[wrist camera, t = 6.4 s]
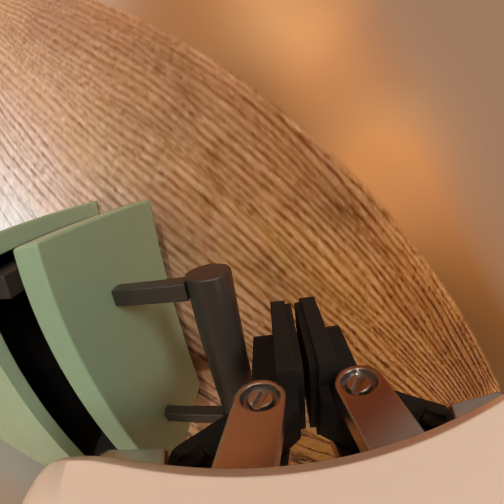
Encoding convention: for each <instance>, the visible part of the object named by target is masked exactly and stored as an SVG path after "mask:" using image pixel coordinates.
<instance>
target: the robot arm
mask: <svg viewBox="0 0 504 504" xmlns="http://www.w3.org/2000/svg"><path fill="white" fill-rule="evenodd" d="M294 304H295V317H296V328H295V324H294V319H293V314H292V309H291V305H290V303H289V304H285V302H284V301H276V302H270V305H271V318H272V333H273V335H267V336H258V337H254V338H253V361H252V382H249V383H247V384H245V385H244V386H242V387H241V388H240V389H239V390H238V391H237V393H236V395H235V397H234V400H233V403H232V406H231V409H230V412H229V413H227V414H226V415H224V416H223V417H222V418H220V419H219V420H217V421H216V422H214V423H213V424H211V425H210V426H208V427H206V428H205V429H203V430H202V431H200V432H199V433H197V434H195V435H194V436H192V437H191V438H189V439H187V440H186V441H184V442H182V443H181V444H179V445H178V446H177V447H175V448H174V449H173V450H168V451H167V450H166V449H165V448H156V449H134V450H107V451H105V452H103V453H101V454H100V455H99V456H73V457H66V458H61V459H57V460H55V461H53V462H51V463H50V464H48V465H47V466H46V467H45V468H44V469H43V470H42V472H41V473H40V474H39V475H38V477H37V478H36V480H35V481H34V483H33V484H32V486H31V488H30V489H29V491H28V493H27V495H26V497H25V499H24V501H23V503H22V504H504V393H501V392H494V393H490V394H487V395H484V396H480V397H476V398H473V399H469V400H465V401H461V402H456V403H452V404H451V405H450V407H448V408H447V407H446V406H444V405H441V404H438V403H435V402H431V401H428V400H424V399H421V398H417V397H414V396H411V395H407V394H404V393H401V392H398V391H395V390H393V389H392V387H391V386H390V385H389V383H388V382H387V381H386V379H385V378H384V377H383V375H382V374H381V373H380V372H379V371H378V370H376V369H374V368H372V367H369V366H364V365H356V363H355V361H354V358H353V356H352V354H351V351H350V349H349V347H348V345H347V342H346V340H345V338H344V336H343V334H342V331H341V329H340V327H339V326H338V325H337V326H331V327H325V324H324V322H323V319H322V317H321V314H320V311H319V309H318V306H317V304H316V301H315V299H314V297H306V298H299V302H297V303H294ZM296 329H297V333H296ZM305 399H306V405H307V411H308V417H309V423H310V427H316V429H317V435H319V434H320V435H322V436H324V437H326V438H328V439H330V444H331V447H332V450H333V452H334V455H335V457H336V458H335V459H330V460H324V461H318V462H312V463H305V464H298V465H290V459H291V447H292V446H293V445H294V444H295V443H296V442H297V441H298V440H299V439H300V438H301V429H304V428H306V422H305Z"/></svg>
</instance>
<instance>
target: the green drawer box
mask: <svg viewBox="0 0 504 504" xmlns="http://www.w3.org/2000/svg"><path fill="white" fill-rule="evenodd" d="M96 215H99V212H98V207H97V202H96V201H93V202H89V203H86V204H82V205H78V206H75V207H71V208H68V209H65V210H61V211H58V212H55V213H51V214H48V215H45V216H42V217H39V218H36V219H33V220H30V221H27V222H24V223H21V224H18V225H16V226H13V227H10V228H7V229H5V230H2V231H0V255H1V254H3V253H6V252H8V251H10V250H12V249H14V248H16V247H18V246H21V245H23V244H25V243H27V242H30V241H32V240H34V239H37V238H39V237H41V236H44V235H46V234H49V233H51V232H54V231H56V230H59V229H61V228H64V227H66V226H69V225H71V224H74V223H77V222H79V221H82V220H85V219H87V218H90V217H93V216H96ZM0 439H2V440H3V441H5V442H6V443H8V444H9V445H11V446H12V447H14V448H15V449H17V450H19V451H20V452H22V453H24V454H26V455H27V456H29V457H31V458H32V459H34V460H36V461H38V462H40V463H42V464H44V465H45V466H47V465H48V464H50V463H51V462H53V461H55V460H57V459H61V458H66V457H73V456H85V455H84V454H83V453H82V452H81V451H80V450H79V449H78V448H77V447H76V445H75V444H74V443H73V442H72V441H71V440H70V439H69V437H68V436H67V435H66V434H65V433H64V432H63V430H62V429H61V428H60V427H59V425H58V424H57V423H56V422H55V420H54V419H53V418H52V417H51V415H50V414H49V413H48V411H47V410H46V409H45V407H44V406H43V404H42V403H41V402H40V400H39V399H38V397H37V396H36V394H35V393H34V391H33V390H32V388H31V387H30V385H29V384H28V382H27V380H26V379H25V377H24V376H23V374H22V372H21V371H20V369H19V367H18V365H17V364H16V362H15V360H14V358H13V356H12V355H11V353H10V351H9V349H8V347H7V345H6V343H5V341H4V339H3V337H2V335H1V333H0Z"/></svg>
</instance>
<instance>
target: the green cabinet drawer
mask: <svg viewBox="0 0 504 504" xmlns="http://www.w3.org/2000/svg"><path fill="white" fill-rule="evenodd" d="M189 299H190V300H191V304H192V308H193V312H194V315H195V319H196V323H197V326H198V330H199V333H200V337H201V340H202V344H203V347H204V351H205V354H206V357H207V361H208V364H209V367H210V370H211V373H212V377H213V380H214V383H215V386H216V389H217V392H218V395H219V398H220V401H221V404H222V406H194V405H195V401H196V398H197V394H198V390H199V386H200V382H199V379H198V377H197V374H196V371H195V368H194V365H193V362H192V359H191V356H190V354H189V350H188V347H187V344H186V341H185V338H184V335H183V332H182V329H181V325H180V322H179V319H178V315H177V312H176V308H175V305H174V302H181V301H188V300H189ZM0 333H1V335H2V337H3V339H4V341H5V343H6V345H7V347H8V349H9V351H10V353H11V355H12V356H13V358H14V360H15V362H16V364H17V365H18V367H19V369H20V371H21V372H22V374H23V376H24V377H25V379H26V380H27V382H28V384H29V385H30V387H31V388H32V390H33V391H34V393H35V394H36V396H37V397H38V399H39V400H40V402H41V403H42V404H43V406H44V407H45V409H46V410H47V411H48V413H49V414H50V415H51V417H52V418H53V419H54V420H55V422H56V423H57V424H58V425H59V427H60V428H61V429H62V430H63V432H64V433H65V434H66V435H67V436H68V437H69V439H70V440H71V441H72V442H73V443H74V444H75V445H76V447H77V448H78V449H79V450H80V451H81V452H82V453H83V454H84V455H85V456H99V455H100V454H101V453H103V452H105V451H107V450H134V449H156V448H165V449H166V450H167V451H168V450H173V449H174V448H175V447H177V446H178V445H179V444H181V443H182V442H184V441H186V437H187V433H188V429H189V425H190V422H196V423H214V422H216V421H217V420H219V419H220V418H222V417H223V416H224V415H226V414H227V413H229V412H230V409H231V406H232V403H233V400H234V397H235V395H236V393H237V391H238V390H239V389H240V388H241V387H242V386H244V385H245V384H247V383H249V382H252V375H251V370H250V365H249V360H248V356H247V351H246V346H245V341H244V335H243V330H242V325H241V320H240V315H239V310H238V304H237V299H236V294H235V288H234V283H233V278H232V272H231V268H230V267H229V266H228V265H225V264H208V265H203V266H200V267H197V268H195V269H193V270H191V271H189V272H188V273H187V274H186V276H185V277H183V278H174V279H167V275H166V272H165V268H164V263H163V259H162V255H161V251H160V247H159V242H158V238H157V233H156V229H155V224H154V219H153V214H152V209H151V204H150V200H145V201H141V202H136V203H132V204H128V205H125V206H122V207H119V208H116V209H113V210H110V211H107V212H104V213H101V214H99V215H96V216H93V217H90V218H87V219H85V220H82V221H79V222H77V223H74V224H71V225H69V226H66V227H64V228H61V229H59V230H56V231H54V232H51V233H49V234H46V235H44V236H41V237H39V238H37V239H34V240H32V241H30V242H27V243H25V244H23V245H21V246H18V247H16V248H14V249H12V250H10V251H8V252H6V253H3V254H1V255H0Z"/></svg>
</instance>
